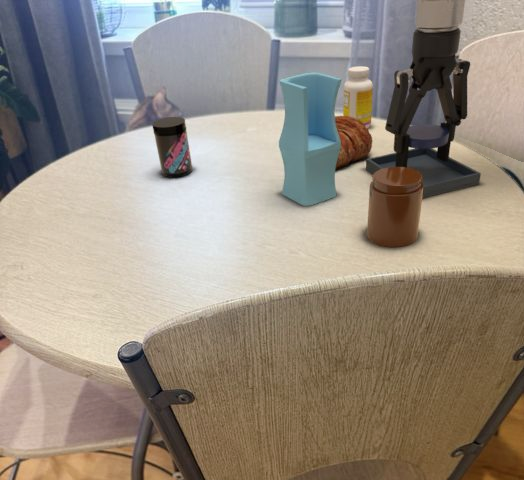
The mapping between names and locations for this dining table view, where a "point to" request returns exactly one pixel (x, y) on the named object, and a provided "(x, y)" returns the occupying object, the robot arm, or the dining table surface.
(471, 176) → the tray
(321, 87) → the blue toy chair
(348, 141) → the pastry
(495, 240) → the dining table surface
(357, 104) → the supplement bottle
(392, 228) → the jar
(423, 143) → the lid
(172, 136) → the supplement container
